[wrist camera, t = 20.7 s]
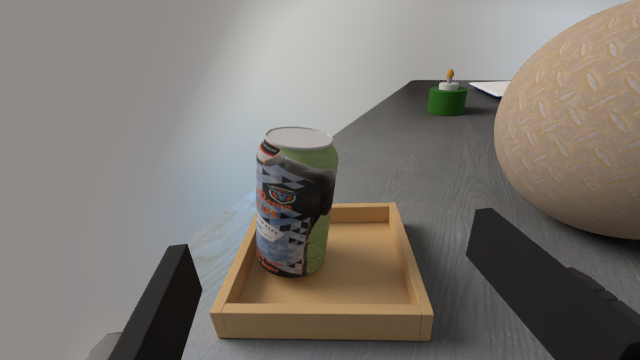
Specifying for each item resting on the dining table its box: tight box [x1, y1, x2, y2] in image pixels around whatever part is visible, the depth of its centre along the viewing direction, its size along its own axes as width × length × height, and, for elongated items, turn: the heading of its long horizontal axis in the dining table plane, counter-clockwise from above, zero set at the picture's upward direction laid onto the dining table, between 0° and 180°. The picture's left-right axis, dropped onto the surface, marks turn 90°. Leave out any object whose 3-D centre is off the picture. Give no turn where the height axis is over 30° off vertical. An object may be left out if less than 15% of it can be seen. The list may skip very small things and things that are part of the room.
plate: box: [469, 81, 511, 98], centre depth 84 cm, size 22×22×2 cm
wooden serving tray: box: [210, 203, 434, 341], centre depth 25 cm, size 15×14×3 cm
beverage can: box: [256, 127, 338, 278], centre depth 23 cm, size 6×7×12 cm
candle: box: [428, 69, 467, 116], centre depth 70 cm, size 8×8×10 cm
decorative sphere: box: [494, 0, 640, 240], centre depth 25 cm, size 20×20×20 cm
